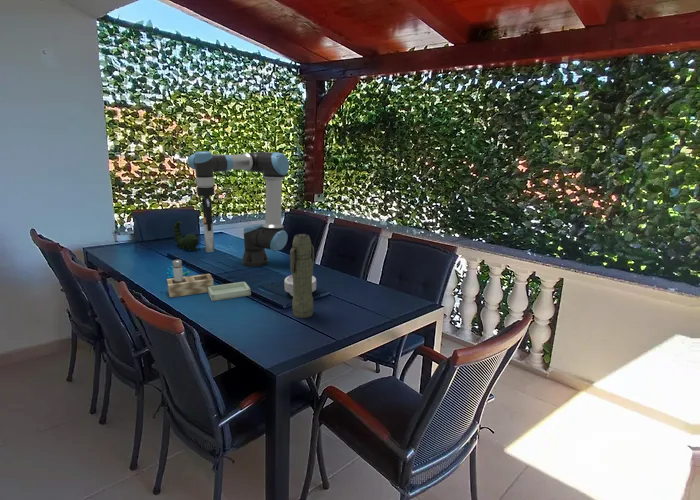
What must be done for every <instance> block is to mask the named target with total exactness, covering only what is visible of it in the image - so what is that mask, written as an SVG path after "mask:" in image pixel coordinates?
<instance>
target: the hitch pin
mask: <svg viewBox="0 0 700 500" xmlns="http://www.w3.org/2000/svg"><path fill="white" fill-rule="evenodd" d="M202 221H203V234H204V246H205V247H204V249H205V252H206V253H213V252H215V251H216V250H215V240H214V238H215V237H214V235H213V237H212V238H207V235H206V224H204V223H206V217H204V216H203V217H202ZM212 231H213V232H214V225H213V222H212Z"/></svg>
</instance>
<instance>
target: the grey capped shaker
mask: <svg viewBox="0 0 700 500" xmlns="http://www.w3.org/2000/svg"><path fill="white" fill-rule="evenodd" d="M182 261H183V260H181V259H174V260H172V266H173V272H174V281H175V283H182V282H184V281H183V272H184V271H183V270H182V269H183V262H182Z"/></svg>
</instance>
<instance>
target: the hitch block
mask: <svg viewBox="0 0 700 500" xmlns="http://www.w3.org/2000/svg"><path fill="white" fill-rule="evenodd" d="M183 281H184V282H182V283H175V281H174V278H173V277H171V278H169V279H168V278H166V282H167V291H168V295H169V298H170V297H171V298H178V297H183V296H185V297H186V296H190V295H196V294H197V295H198V294H204V293H206V294H207V293H208V288H207V287H209V286H215V285H214V278H213V277H212V274H210V273H203V274H196V275H189V276H188V275H187V276H186V277H183Z"/></svg>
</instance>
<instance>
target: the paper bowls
mask: <svg viewBox="0 0 700 500" xmlns="http://www.w3.org/2000/svg"><path fill="white" fill-rule="evenodd" d="M283 283H284V291H285V292H286V293H289V295H290V296H291V297H293V277H292V274H291V275H288V276H286V277H285V278H284V282H283ZM316 290H317V278H316V277H315V276H314V275H313V276H312V293H313V292H315V291H316Z"/></svg>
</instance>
